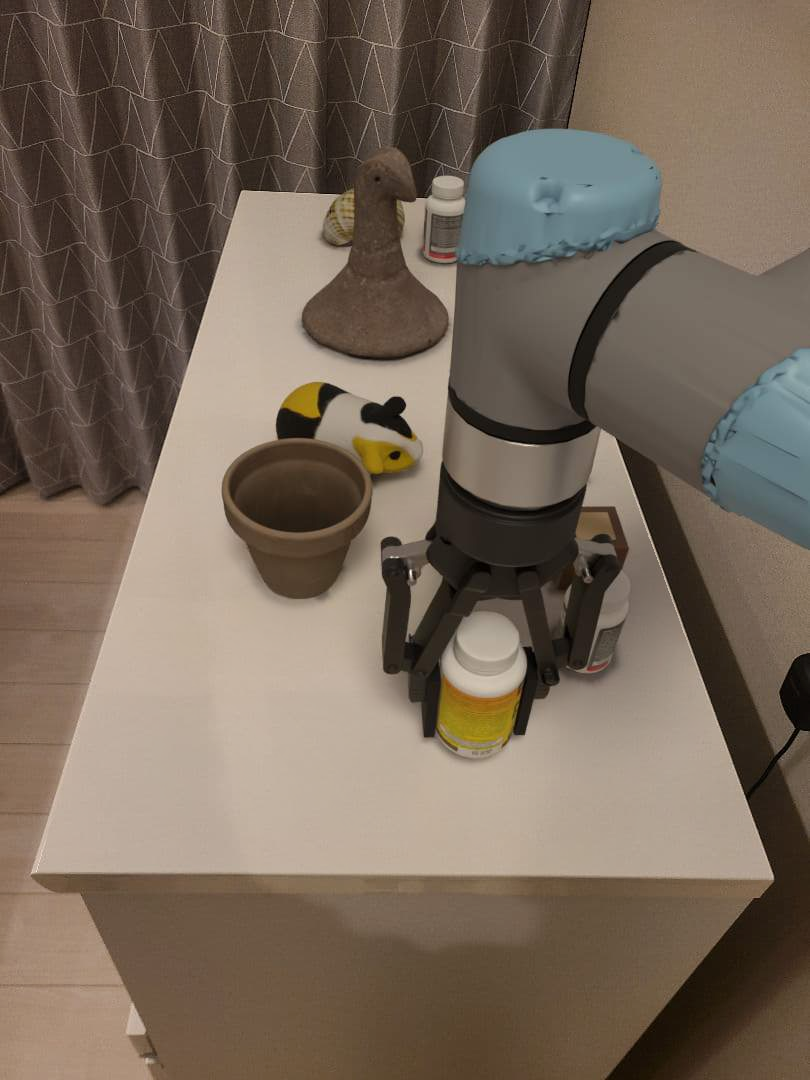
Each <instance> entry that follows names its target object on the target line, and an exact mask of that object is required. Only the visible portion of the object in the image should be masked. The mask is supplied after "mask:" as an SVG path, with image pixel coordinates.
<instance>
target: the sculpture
mask: <svg viewBox="0 0 810 1080" xmlns="http://www.w3.org/2000/svg"><path fill="white" fill-rule="evenodd" d="M353 181H354V182H353V188H354V210H355V212H354V229H353V240H352V241H351V242H352V244H351V247H350V249H349V254H348V258H347V262H346V264H345V265H344V266H343V268H342V269H341V270H340V271H339V272H338V273H337V275H335V277H333V278H332V280H331V281H330V282H329V283H327V284H326V285H325V286H324V287H322V288H321V289H320V290H319V291H317V292H316V293H315V294H314V295H313V296H312V297H311V298H310V299H308V301H307V303H305V306H304V307H303V309H302V312H301V322H302V325H303V327H304V328H305V330H306V331H307V332H308V333H309V335H310V336H311V337H312V338H313V339H314V340H315V341H317V342H318V343H320V344H322V345H324V346H326V347H328V348H331V349H333V350H337V351H340V352H342V353H346V354H350V355H352V356H356V357H357V356H358V357H366V358H373V359H389V358H390V359H391V358H394V359H396V358H400V357H405V356H407V355H408V356H409V355H412V354H415V353H418V352H420V351H424V350H426V349H428V348H429V347H432V346H434V345H435V344H436V343H437V342H439V341H440V340H441V338H442V337H443V336H444V335H445V332H446V331H447V328H448V326H449V312H448V310H447V309H448V308H446V306H445V305H444V303H443V302H442V300H440V298H439V297H438V296H437V295H436V294H435V293H434V292H432V291H431V290H430V289H429V288H427V286H425V285H424V284H423V283H422V282H421V281H420V280H419V279H418V278H417V277H416V276H415V275H414V274H413V273H412V272H411V270H410V269H409V267H408V266H407V264H406V259H405V256H404V251H403V248H402V243H401V236H400V234H399V228H398V217H397V199H398V200H400V201H401V202H402V203H411V204H412V203H414V202H416V201H417V197H418V192H417V187H416V183H415V179H414V174H413V170H412V167H411V164H410V163H409V160H408V158H407V156H405V154H404V153H403V152H402V151H401V150H399V148H397V147H394V146H390V145H385V146H381V147H379V148H377V149H376V150H374V151H373V152H372V153H371V154H370V156H369V157H368V159H366V160H364V161H363V162H362V163H361V164H360V165H359V166H358V167H357V169H356V172H355V175H354V180H353Z"/></svg>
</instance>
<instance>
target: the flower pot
mask: <svg viewBox="0 0 810 1080" xmlns="http://www.w3.org/2000/svg"><path fill="white" fill-rule="evenodd" d="M373 491H374V489H373V482H372V478H371V474H369V472H368V470H367V469H366V467H365V466H364V464H363V463H362V462H361V461H360V460H359V459H358V458H357V457H356V456H354V455H353V454H352V453H351V452H349V451H347V450H345V449H343V448H342V447H340V446H337V445H335V444H332V443H329V442H325V441H321V440H315V439H307V438H288V439H280V440H278V439H275V440H271V441H267V442H263V443H260V444H258V445H256V446H254V447H252V448H249V449H247V450H246V451H244V452H243V453H241V454H240V455H239V456H238V457H236V458H235V459H234V460H233V461H232V462H231V464H230V465H229V466H228V467H227V469H226V471H225V473H224V475H223V478H222V482H221V499H222V503H223V511H224V516H225V519H226V522H227V523H228V525H229V527H230V528H231V529H232V531H233V532H234V533H235V534H236V536H237V537H239V538H240V539H241V540H242V541H243V542H244V543H245V546H246V547H247V550H248V552H249V555H250V557H251V558H252V561H253V563H254V565H255V567H256V569H257V571H258V573H259V575H260V576H261V578H262V580H263V582H264V583H265V584H266V585H267V587H268V588H269V589H270V590H271V591H273V592H274V593H276V594H278V595H280V596H283V597H286V598H291V599H308V598H313V597H316V596H318V595H320V594H323V593H324V592H326V591H327V590H329V589H330V588H331V587H332V586H333V585H334V583H335V582H336V580H337V578H338V577H339V574H340V573H341V570H342V567H343V565H344V563H345V560H346V558H347V555H348V552H349V550H350V548H351V544H352V541H353V540H354V539H356V538H357V536H359V534H360V533H361V532H362V531H363V529H365V526H366V524H367V522H368V521H369V520H368V519H369V517H370V513H371V507H372V500H373V499H372V498H373Z"/></svg>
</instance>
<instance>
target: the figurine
mask: <svg viewBox="0 0 810 1080" xmlns="http://www.w3.org/2000/svg"><path fill="white" fill-rule="evenodd" d="M406 408H407V402H406V400H405V399H404V398H403V397H402V396H397V395H396V396H395V395H394V396H391V397H390V398H389V399H387V400H386V401H385V402H384V404H380V403H378V402H375V401H373V400H370V399H366V398H363V397H361V396H358V395H355V394H353V393H351V392H349V391H347V390H345V389H343V388H341V387H339V386H336V385H334V384H331V383H329V382H324V381H313V382H309V383H305V384H302V385H299V386H298V387H297V388H295V389H294V390H292V391H291V392H290V393H289V394H288V395H287V396H286V397H285V398H284V400H283V402H282V403H281V405H280V407H279V409H278V411H277V415H276V419H275V432H276V433H275V434H276V436H277V440H280V439H288V438H307V439H315V440H321V441H325V442H329V443H332V444H335V445H337V446H340V447H342V448H343V449H345V450H347V451H349V452H351V453H352V454H353V455H354V456H356V457H357V458H358V459H359V460H360V461H361V462H362V463H363V464H364V466H365V467H366V469H367V470H368V472H369V475H380V474H382V473H387V474H394V473H400V472H403V471H406V470H409V469H412V468H414V467H415V466H416V465H417V464H418V463H419V462H420V461H421V458H422V457H423V455H424V445H423V442H422V441H421V440H420V438H419V437H418V436H417V435H416V434H415V432H414V431H413V430H412V428H411V426H410V425H409V423H408V422H407V421H406V419H405V418H404V417H403V416H401V414H403V413H404V411H405V410H406Z"/></svg>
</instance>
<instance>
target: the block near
mask: <svg viewBox="0 0 810 1080" xmlns="http://www.w3.org/2000/svg"><path fill="white" fill-rule="evenodd" d="M598 534H607V535H609V536H610V537H611V540H612V543H613V546H614V549H615V552H616V555H617V558H618V561H619V564H620V568H621V570H622V571H623V568H624V565H625V562H626V559H627V556H628V553H629V551H630V546H629V544H628V541H627V539H626V535H625V532H624V529H623V525H622V523H621V520H620V517H619V514H618V511H617V508H616V506H615V505H614V506H613V505H612V506H611V505H610V506H607V505H605V506H602V505H599V506H596V505H595V506H591V505H589V506H585V505H582V509H581V513H580V517H579V521H578V525H577V529H576V533H575V538H579V539H584V540H588V541H590V540H591V539H592V538H593V537H594V536H596V535H598ZM574 570H575V568H574V564H573V563H572V564H571V565H569V566H568V567H567V568H566V569H564V570H563V571H562V572H561V573H559V574H558V575H557V576H555V577H554V580H555V585H556V589H557V591H564V590H565V591H567V589H568V588H569V586H570V585H571V584H572V580H573V575H574Z"/></svg>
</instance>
